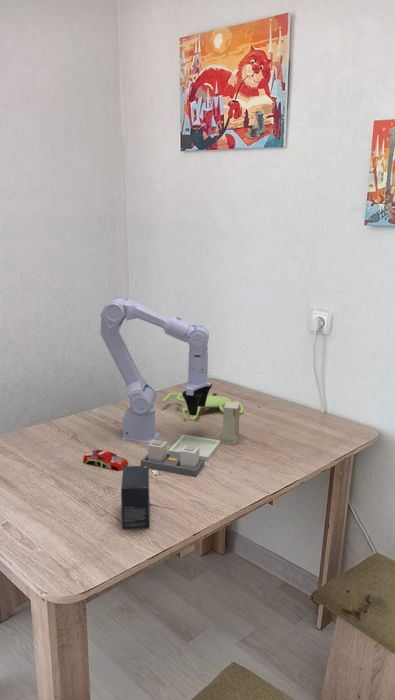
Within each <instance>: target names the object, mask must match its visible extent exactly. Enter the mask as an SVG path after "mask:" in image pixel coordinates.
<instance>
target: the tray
mask: <svg viewBox="0 0 395 700" xmlns="http://www.w3.org/2000/svg"><path fill="white" fill-rule="evenodd" d="M221 442H222V441H221V440H220V439H218V440H217V439H212V438H205V437H202V436H201V437H200V436H194V435H188V434H183V435H182V434H181V436H180V437H179V438H178V440H176V442H175V443H174V444H172V446H171V447H170V448H169V449H167V453H169V454H175V455H180V451H181V450H182V449H183V447H184V446H185V445H189V446H195V447H200V449H199V459H203V460H205V462H208V461H209V460H210V459H211V458H212V456H213V455H214V454H215V453H216V452H217V450H218V449H219V447H220V446H221Z"/></svg>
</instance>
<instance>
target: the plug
mask: <svg viewBox="0 0 395 700" xmlns="http://www.w3.org/2000/svg"><path fill="white" fill-rule="evenodd" d="M199 449H200V447H195V446H189V445H185V446H184V447H183V449H182V450H181V451H180V466H181V467H186V468H192V469H195V467H196V466H197V465H198V463H199Z"/></svg>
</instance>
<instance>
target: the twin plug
mask: <svg viewBox="0 0 395 700" xmlns="http://www.w3.org/2000/svg"><path fill="white" fill-rule="evenodd" d="M167 453H168V441H166V440H165V441H164V440H159V439H154V440H153V441H152V442H151V443H148V445H147V454H148V461H153V462H159V463H164V462H165V460H166V459H167Z"/></svg>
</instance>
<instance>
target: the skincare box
mask: <svg viewBox="0 0 395 700" xmlns="http://www.w3.org/2000/svg"><path fill="white" fill-rule="evenodd" d="M240 403H241V402H239V401H238V402H235V401H232V402H230V401H226V403H225V406H224V411H223V412H222V415H223V416H222V441H221V442H222V445H228V446H237V444H238V441H239V435H240V433H239V432H240V414H239V413H240Z"/></svg>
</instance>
